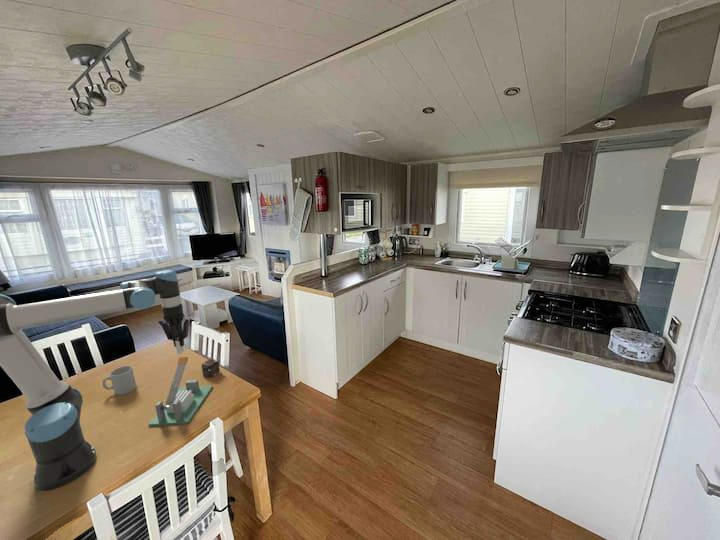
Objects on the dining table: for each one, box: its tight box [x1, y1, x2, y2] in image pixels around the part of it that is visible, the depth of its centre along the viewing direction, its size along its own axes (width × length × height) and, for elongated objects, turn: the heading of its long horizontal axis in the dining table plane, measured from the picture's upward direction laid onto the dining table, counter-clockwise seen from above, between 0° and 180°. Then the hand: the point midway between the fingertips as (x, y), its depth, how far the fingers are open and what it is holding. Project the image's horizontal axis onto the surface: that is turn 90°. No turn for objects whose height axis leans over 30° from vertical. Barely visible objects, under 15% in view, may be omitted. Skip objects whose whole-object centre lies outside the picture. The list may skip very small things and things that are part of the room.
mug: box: [102, 365, 137, 396], centre depth 138 cm, size 12×8×11 cm
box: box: [201, 358, 221, 378], centre depth 151 cm, size 6×6×7 cm
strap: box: [161, 356, 189, 410], centre depth 123 cm, size 22×5×2 cm
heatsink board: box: [147, 379, 214, 427], centre depth 128 cm, size 24×16×10 cm, turn 4°
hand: (180, 352), depth 128 cm, fingers closed
